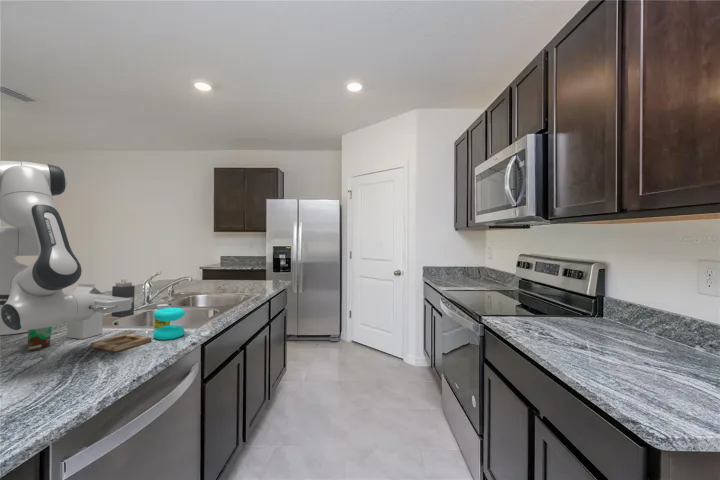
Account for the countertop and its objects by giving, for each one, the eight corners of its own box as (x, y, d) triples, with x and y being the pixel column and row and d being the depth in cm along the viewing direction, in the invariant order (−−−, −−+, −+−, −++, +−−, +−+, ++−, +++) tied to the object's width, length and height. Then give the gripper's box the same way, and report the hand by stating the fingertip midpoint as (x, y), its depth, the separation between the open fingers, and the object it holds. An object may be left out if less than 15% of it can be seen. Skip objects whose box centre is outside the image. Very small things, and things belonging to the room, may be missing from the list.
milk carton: (82, 339, 114) (84, 285, 114) (66, 337, 116) (68, 284, 116) (102, 333, 121) (103, 283, 121) (86, 332, 123) (88, 282, 123)
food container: (56, 348, 105) (56, 317, 105) (28, 353, 100) (29, 321, 100) (52, 339, 113) (53, 311, 113) (27, 343, 109) (28, 313, 109)
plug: (111, 316, 109) (112, 278, 109) (124, 313, 113) (126, 276, 113) (120, 317, 107) (121, 278, 108) (133, 314, 112) (134, 277, 112)
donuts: (174, 313, 115) (147, 312, 116) (174, 341, 116) (146, 340, 116) (190, 307, 125) (165, 306, 126) (189, 333, 125) (164, 332, 126)
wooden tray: (90, 347, 107) (90, 342, 107) (127, 337, 118) (127, 332, 118) (115, 352, 103) (115, 347, 103) (151, 341, 114) (151, 337, 114)
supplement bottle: (171, 326, 133) (172, 303, 133) (167, 330, 128) (167, 306, 128) (157, 327, 132) (157, 303, 132) (151, 331, 127) (152, 306, 127)
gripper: (102, 298, 95) (148, 292, 108) (58, 293, 102) (106, 287, 115) (102, 320, 95) (147, 311, 108) (58, 313, 102) (105, 305, 115)
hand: (126, 298), depth 111 cm, fingers closed on plug, 4 cm apart
